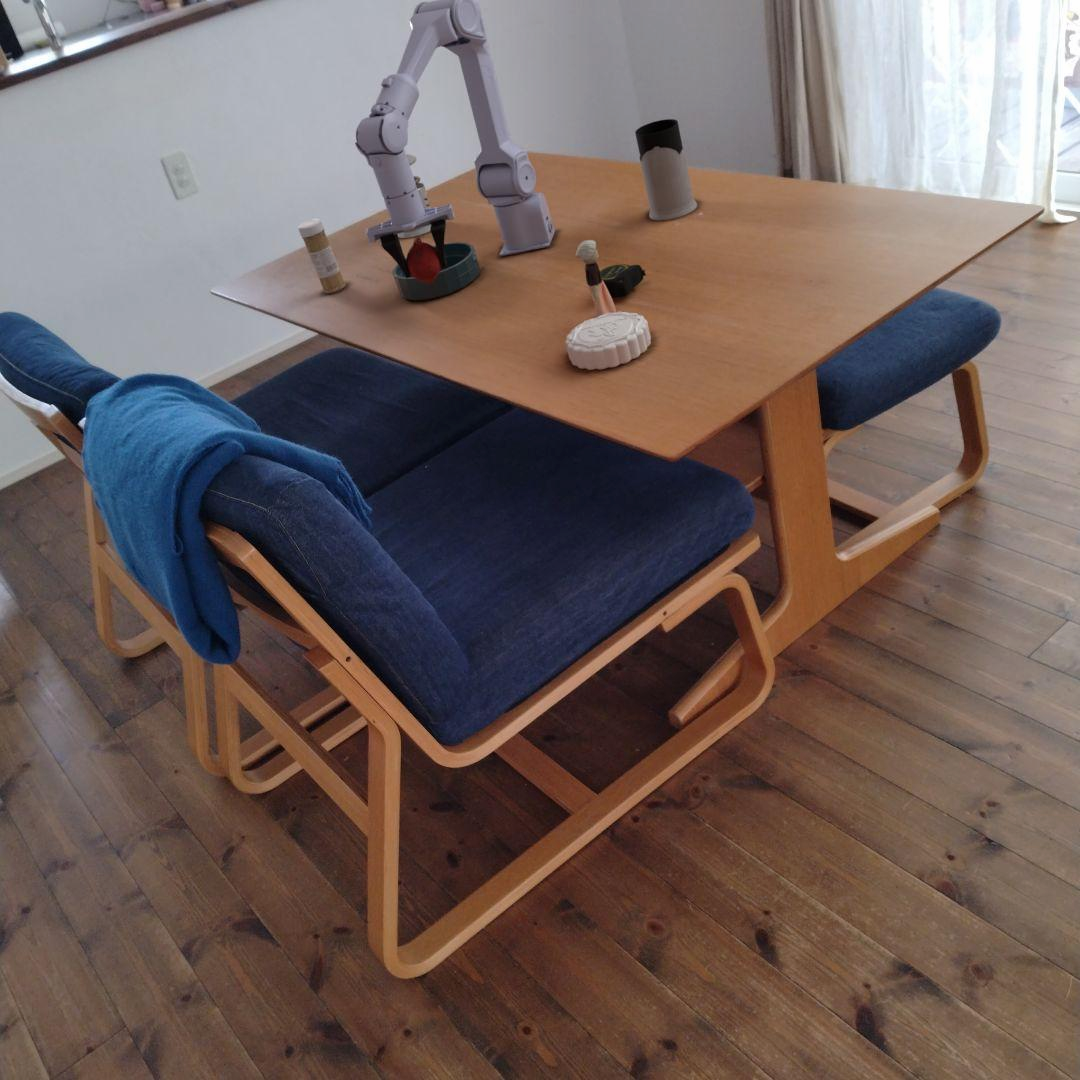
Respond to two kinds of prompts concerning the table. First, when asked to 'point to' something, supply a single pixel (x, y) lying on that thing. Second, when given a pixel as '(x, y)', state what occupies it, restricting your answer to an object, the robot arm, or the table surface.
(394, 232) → the robot arm
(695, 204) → the glass holder
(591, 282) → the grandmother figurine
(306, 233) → the sprinkles bottle
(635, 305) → the table surface
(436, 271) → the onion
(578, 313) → the table surface
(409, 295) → the bowl
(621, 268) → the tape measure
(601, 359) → the mooncake
